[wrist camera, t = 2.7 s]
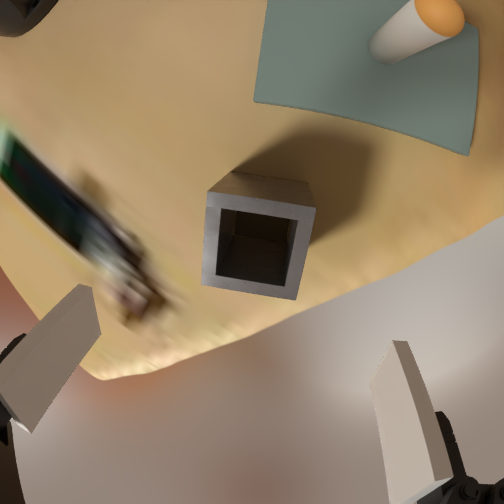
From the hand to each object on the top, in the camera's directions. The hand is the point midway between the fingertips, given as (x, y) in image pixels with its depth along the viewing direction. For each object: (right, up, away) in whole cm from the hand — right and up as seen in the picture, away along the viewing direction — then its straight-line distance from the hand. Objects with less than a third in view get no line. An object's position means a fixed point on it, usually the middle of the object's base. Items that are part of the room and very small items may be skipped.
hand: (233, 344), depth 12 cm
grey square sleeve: (+2, +7, +15) cm, 17 cm away
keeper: (+12, +21, +8) cm, 25 cm away
